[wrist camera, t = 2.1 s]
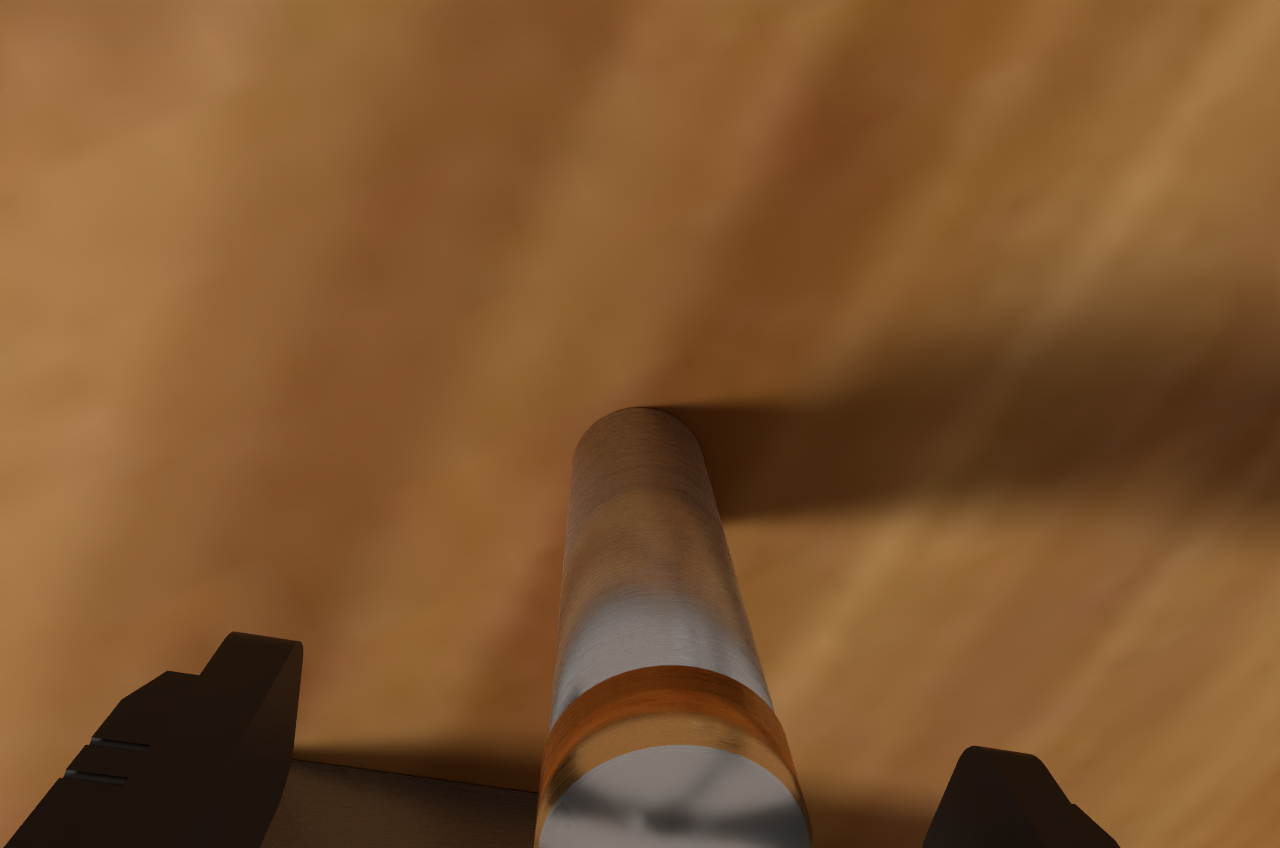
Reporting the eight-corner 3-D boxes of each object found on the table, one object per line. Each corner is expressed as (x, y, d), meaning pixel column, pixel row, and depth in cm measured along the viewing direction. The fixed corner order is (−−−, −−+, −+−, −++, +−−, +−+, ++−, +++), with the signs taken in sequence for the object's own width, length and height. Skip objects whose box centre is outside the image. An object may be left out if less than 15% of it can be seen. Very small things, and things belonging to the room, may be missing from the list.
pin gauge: (721, 419, 18) (850, 769, 8) (688, 540, 19) (772, 975, 9) (583, 393, 17) (560, 727, 8) (558, 517, 18) (512, 944, 9)
